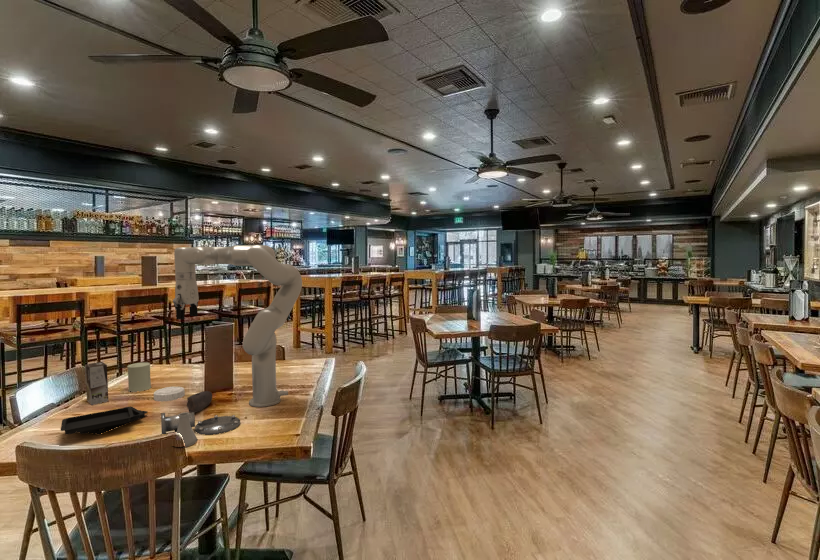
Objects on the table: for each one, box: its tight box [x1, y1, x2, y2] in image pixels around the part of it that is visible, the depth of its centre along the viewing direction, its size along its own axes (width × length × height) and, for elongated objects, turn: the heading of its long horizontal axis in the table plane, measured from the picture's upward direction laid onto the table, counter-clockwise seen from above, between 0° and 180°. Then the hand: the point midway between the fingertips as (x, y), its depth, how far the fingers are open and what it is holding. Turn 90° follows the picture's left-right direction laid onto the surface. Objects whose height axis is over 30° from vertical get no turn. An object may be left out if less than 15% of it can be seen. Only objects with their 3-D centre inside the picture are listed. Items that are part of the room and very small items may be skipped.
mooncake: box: [153, 385, 185, 402], centre depth 191 cm, size 12×12×4 cm
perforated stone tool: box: [186, 390, 213, 414], centre depth 175 cm, size 15×5×7 cm, turn 171°
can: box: [126, 362, 152, 393], centre depth 203 cm, size 9×9×12 cm
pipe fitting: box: [160, 412, 241, 436], centre depth 154 cm, size 25×15×8 cm, turn 120°
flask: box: [177, 411, 199, 448], centre depth 142 cm, size 7×7×10 cm
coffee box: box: [84, 361, 109, 406], centre depth 186 cm, size 9×6×16 cm
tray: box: [60, 406, 148, 435], centre depth 157 cm, size 30×23×5 cm
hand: (187, 317), depth 181 cm, fingers open, 9 cm apart
